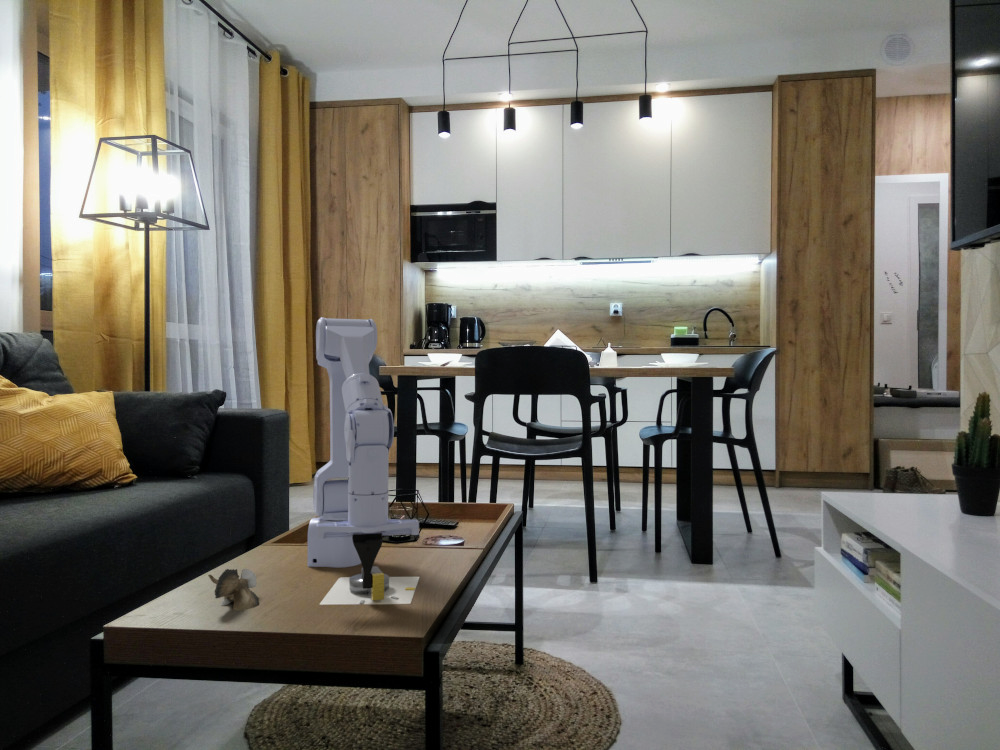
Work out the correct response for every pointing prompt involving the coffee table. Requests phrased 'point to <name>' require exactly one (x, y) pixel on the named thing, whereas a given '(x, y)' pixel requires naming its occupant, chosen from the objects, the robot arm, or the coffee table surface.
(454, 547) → the coffee table surface
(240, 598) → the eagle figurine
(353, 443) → the robot arm
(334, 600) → the dial plate
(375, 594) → the dial
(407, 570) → the coffee table surface
